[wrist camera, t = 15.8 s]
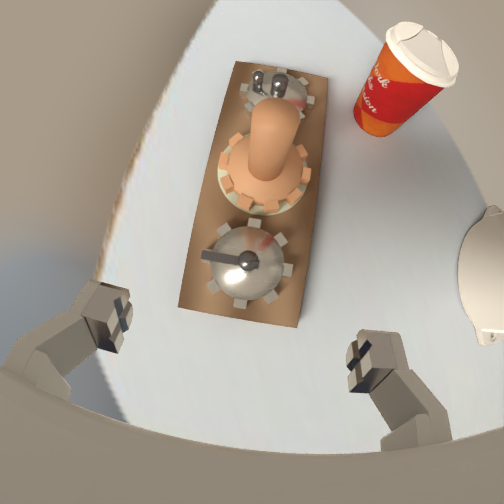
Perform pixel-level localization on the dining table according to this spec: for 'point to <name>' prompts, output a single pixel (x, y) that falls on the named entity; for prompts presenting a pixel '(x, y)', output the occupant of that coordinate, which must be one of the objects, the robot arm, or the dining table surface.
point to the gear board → (255, 210)
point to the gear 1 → (276, 90)
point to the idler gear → (266, 158)
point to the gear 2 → (247, 263)
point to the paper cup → (404, 78)
